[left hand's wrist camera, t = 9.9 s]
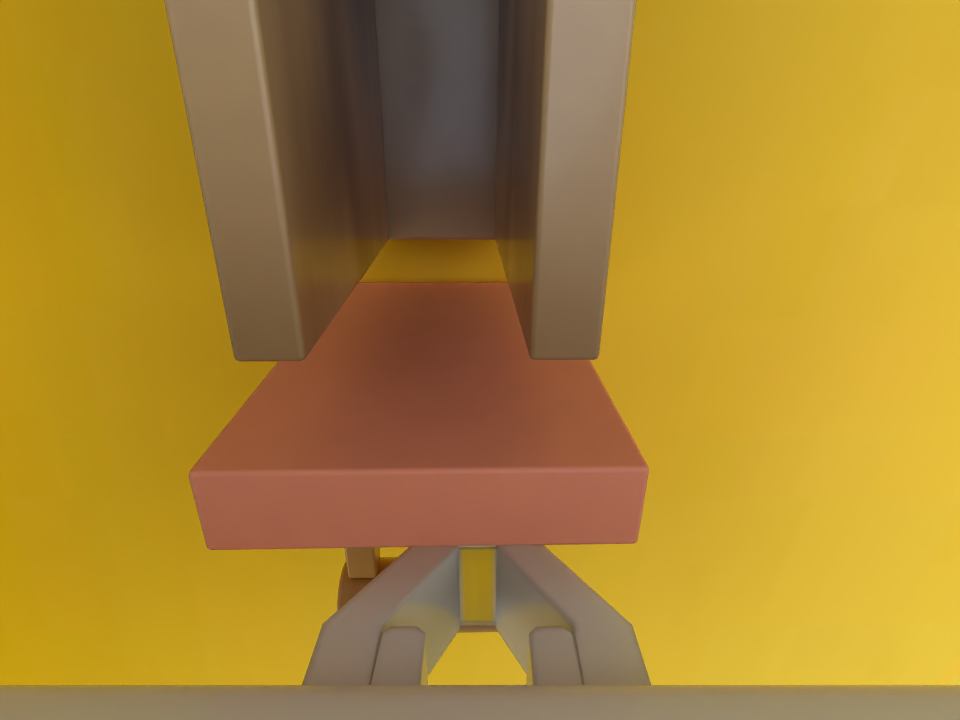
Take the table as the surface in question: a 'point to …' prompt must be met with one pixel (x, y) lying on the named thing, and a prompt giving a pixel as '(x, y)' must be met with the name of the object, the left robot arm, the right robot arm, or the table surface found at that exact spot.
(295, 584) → the table surface
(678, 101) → the table surface
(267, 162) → the drawer
